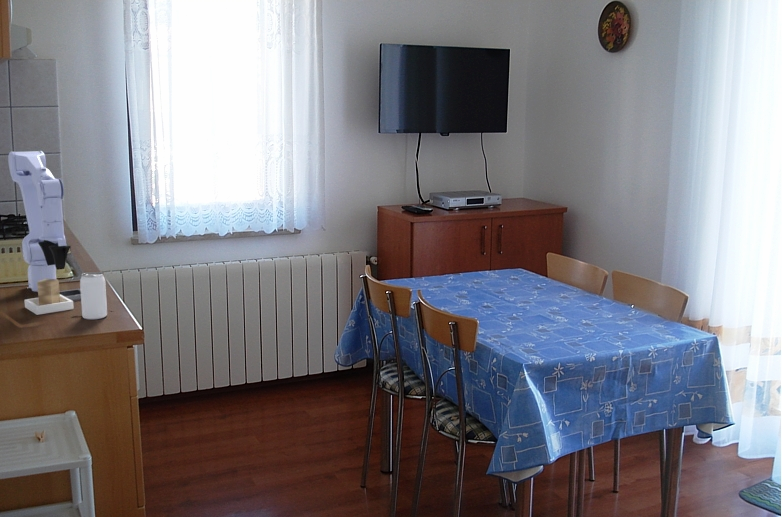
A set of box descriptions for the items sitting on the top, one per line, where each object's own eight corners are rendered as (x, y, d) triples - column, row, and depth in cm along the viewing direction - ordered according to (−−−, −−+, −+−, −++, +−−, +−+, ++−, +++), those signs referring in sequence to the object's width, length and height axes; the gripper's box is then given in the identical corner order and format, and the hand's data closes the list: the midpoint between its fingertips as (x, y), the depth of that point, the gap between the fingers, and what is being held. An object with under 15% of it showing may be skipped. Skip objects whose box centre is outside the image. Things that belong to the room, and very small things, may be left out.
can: (99, 320, 216) (96, 277, 214) (77, 319, 217) (74, 276, 215) (111, 314, 222) (109, 272, 220) (90, 313, 223) (88, 271, 221)
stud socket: (50, 299, 237) (50, 292, 237) (81, 294, 243) (80, 287, 243) (61, 305, 231) (60, 298, 230) (92, 300, 236) (91, 293, 236)
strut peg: (39, 309, 224) (37, 282, 222) (47, 306, 228) (45, 278, 226) (52, 310, 223) (50, 282, 222) (60, 306, 227) (58, 279, 225)
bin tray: (25, 309, 226) (24, 299, 225) (61, 304, 232) (60, 294, 231) (36, 317, 218) (36, 306, 218) (73, 311, 225) (73, 301, 224)
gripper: (29, 219, 233) (33, 264, 236) (46, 225, 223) (50, 272, 225) (54, 217, 238) (57, 261, 240) (72, 222, 227) (75, 269, 230)
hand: (55, 267), depth 233 cm, fingers open, 7 cm apart
